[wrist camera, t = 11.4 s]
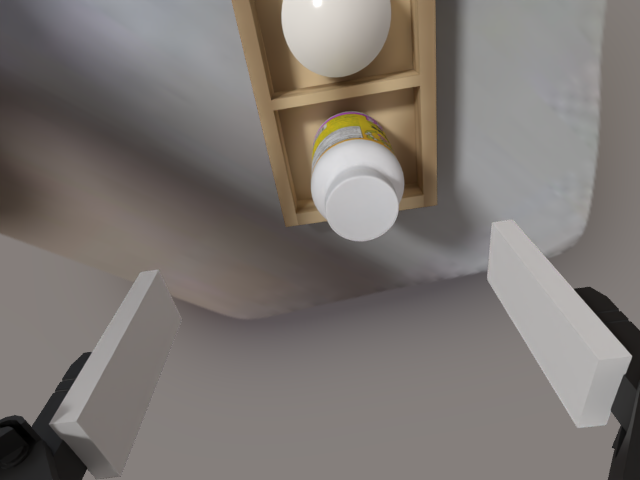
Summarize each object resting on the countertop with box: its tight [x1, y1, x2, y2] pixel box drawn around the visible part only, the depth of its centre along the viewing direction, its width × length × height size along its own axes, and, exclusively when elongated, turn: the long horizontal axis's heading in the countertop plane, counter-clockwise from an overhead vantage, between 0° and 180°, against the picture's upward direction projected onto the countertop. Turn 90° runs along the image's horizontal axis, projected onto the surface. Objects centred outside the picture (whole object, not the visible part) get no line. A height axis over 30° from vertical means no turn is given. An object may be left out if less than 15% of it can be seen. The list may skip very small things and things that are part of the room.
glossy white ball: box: [281, 0, 391, 77], centre depth 29 cm, size 8×8×4 cm
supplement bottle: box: [311, 111, 404, 241], centre depth 31 cm, size 7×7×13 cm
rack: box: [232, 0, 437, 227], centre depth 33 cm, size 14×22×4 cm, turn 9°
